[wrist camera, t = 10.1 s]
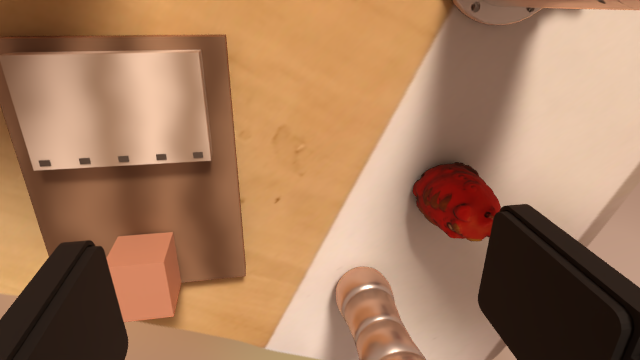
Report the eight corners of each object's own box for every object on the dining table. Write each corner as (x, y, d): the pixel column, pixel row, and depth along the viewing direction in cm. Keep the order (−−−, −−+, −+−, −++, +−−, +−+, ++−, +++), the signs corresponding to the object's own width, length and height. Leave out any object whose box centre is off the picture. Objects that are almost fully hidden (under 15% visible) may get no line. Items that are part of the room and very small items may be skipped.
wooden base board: (225, 34, 35) (223, 38, 31) (245, 265, 45) (245, 289, 41) (-6, 36, 32) (-39, 41, 28) (69, 282, 42) (52, 309, 38)
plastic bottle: (342, 312, 50) (398, 489, 32) (323, 271, 47) (373, 441, 29) (390, 291, 50) (474, 457, 32) (375, 250, 47) (457, 406, 29)
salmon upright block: (173, 231, 39) (163, 262, 35) (181, 282, 41) (173, 316, 37) (118, 236, 38) (101, 267, 34) (129, 287, 41) (115, 322, 36)
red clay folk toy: (397, 199, 44) (463, 285, 31) (432, 144, 43) (520, 211, 29) (449, 223, 47) (532, 312, 34) (485, 172, 45) (588, 245, 32)
